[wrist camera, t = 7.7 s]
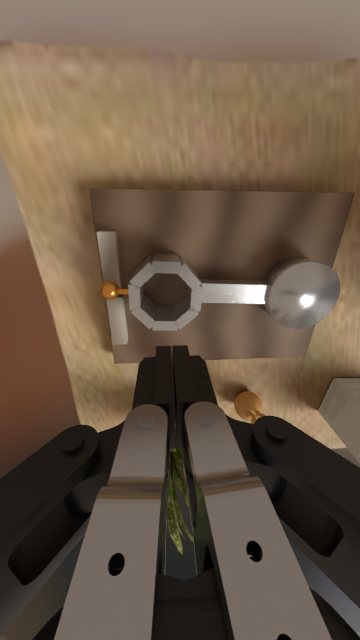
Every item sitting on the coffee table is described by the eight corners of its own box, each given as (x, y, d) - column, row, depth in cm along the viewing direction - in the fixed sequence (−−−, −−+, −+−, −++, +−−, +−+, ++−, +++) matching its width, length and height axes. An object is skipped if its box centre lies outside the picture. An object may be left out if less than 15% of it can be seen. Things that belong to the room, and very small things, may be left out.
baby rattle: (329, 258, 24) (359, 266, 20) (309, 317, 27) (332, 333, 23) (102, 248, 22) (90, 256, 18) (108, 314, 25) (99, 331, 21)
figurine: (215, 404, 35) (239, 488, 25) (223, 373, 33) (253, 453, 22) (265, 405, 36) (309, 487, 26) (276, 376, 34) (330, 453, 23)
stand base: (340, 194, 23) (365, 191, 20) (297, 347, 32) (311, 362, 29) (95, 190, 22) (84, 187, 19) (117, 354, 30) (112, 370, 27)
